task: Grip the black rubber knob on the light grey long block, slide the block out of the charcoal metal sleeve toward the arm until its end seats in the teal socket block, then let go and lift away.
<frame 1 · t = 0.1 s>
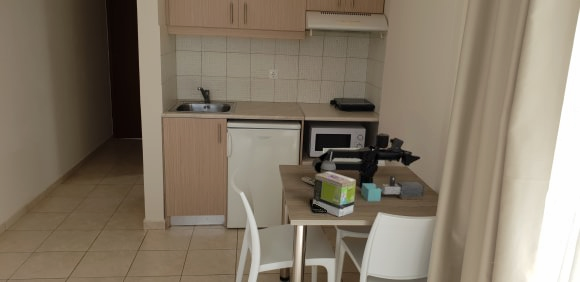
hand: (415, 155, 229), 17 cm above the table, tool horizontal, fingers open, 9 cm apart
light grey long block: (400, 184, 213), point 6 cm above the table, slide at 0.0 cm
socket block: (376, 197, 212), on the table
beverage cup: (326, 192, 216), on the table
sleeve: (398, 197, 214), on the table
tea box: (332, 210, 194), on the table
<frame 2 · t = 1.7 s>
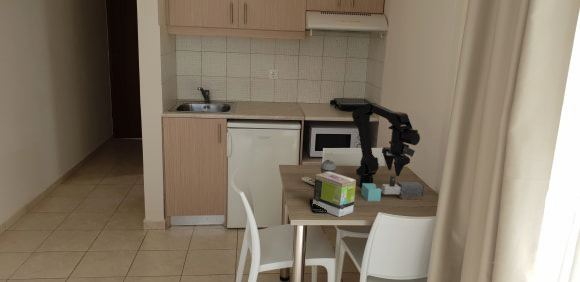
hand: (393, 173, 211), 12 cm above the table, tool pointing down, fingers open, 9 cm apart
nothing on the table moved.
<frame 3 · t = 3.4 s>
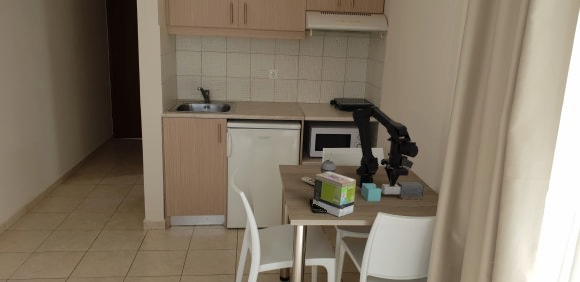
hand: (392, 184, 212), 7 cm above the table, tool pointing down, fingers closed on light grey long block, 2 cm apart
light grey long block: (400, 184, 213), point 6 cm above the table, slide at 0.0 cm, touching gripper
everything else where it was.
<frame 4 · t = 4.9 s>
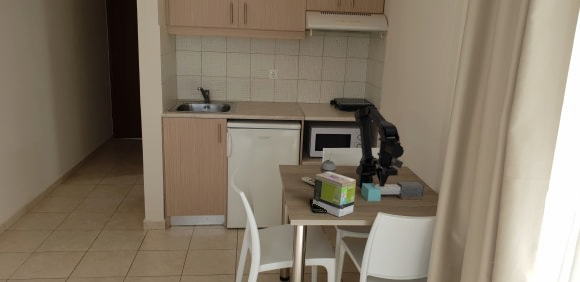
hand: (381, 184, 211), 7 cm above the table, tool pointing down, fingers closed on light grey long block, 2 cm apart
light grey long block: (390, 184, 212), point 6 cm above the table, slide at 5.0 cm, touching gripper
everything else where it was.
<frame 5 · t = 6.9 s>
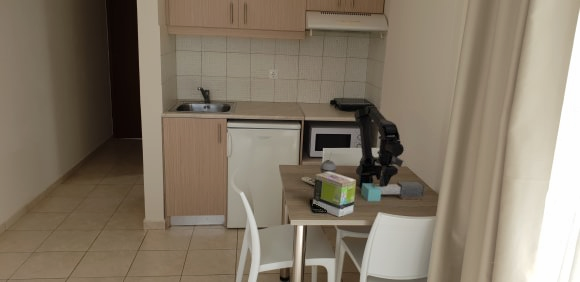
hand: (381, 183, 211), 7 cm above the table, tool pointing down, fingers open, 9 cm apart
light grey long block: (390, 184, 212), point 6 cm above the table, slide at 5.0 cm
everything else where it was.
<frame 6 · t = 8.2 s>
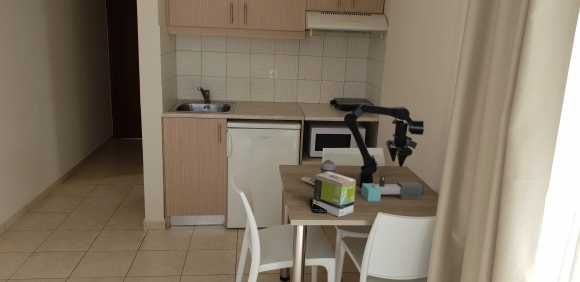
hand: (396, 164, 223), 13 cm above the table, tool pointing down, fingers open, 9 cm apart
nothing on the table moved.
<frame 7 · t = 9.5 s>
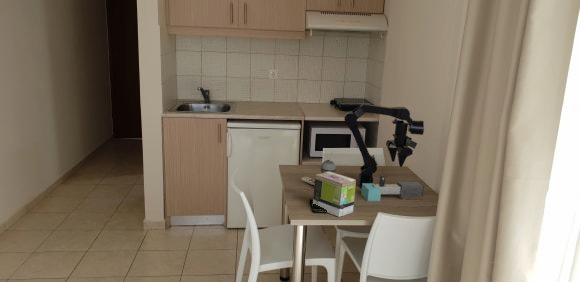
hand: (396, 164, 223), 13 cm above the table, tool pointing down, fingers open, 9 cm apart
nothing on the table moved.
at the end: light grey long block slide at 5.0 cm; the gripper is holding nothing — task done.
